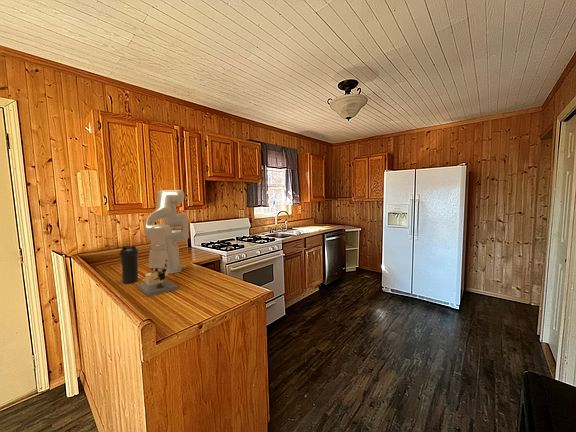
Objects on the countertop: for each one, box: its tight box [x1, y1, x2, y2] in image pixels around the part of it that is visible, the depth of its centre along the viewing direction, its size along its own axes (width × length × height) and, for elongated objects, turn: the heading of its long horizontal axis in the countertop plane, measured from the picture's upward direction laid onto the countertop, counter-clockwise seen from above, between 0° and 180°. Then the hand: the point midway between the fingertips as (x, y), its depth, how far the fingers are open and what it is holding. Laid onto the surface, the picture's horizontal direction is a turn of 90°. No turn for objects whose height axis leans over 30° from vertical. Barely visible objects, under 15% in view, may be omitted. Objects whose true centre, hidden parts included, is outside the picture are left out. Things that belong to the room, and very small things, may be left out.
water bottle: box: [118, 245, 139, 285], centre depth 164 cm, size 10×10×23 cm
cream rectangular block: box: [144, 272, 163, 286], centre depth 154 cm, size 8×6×6 cm
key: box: [141, 269, 169, 287], centre depth 145 cm, size 2×14×9 cm, turn 148°
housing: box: [137, 278, 179, 297], centre depth 151 cm, size 16×20×2 cm
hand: (159, 279), depth 147 cm, fingers closed on key, 3 cm apart
